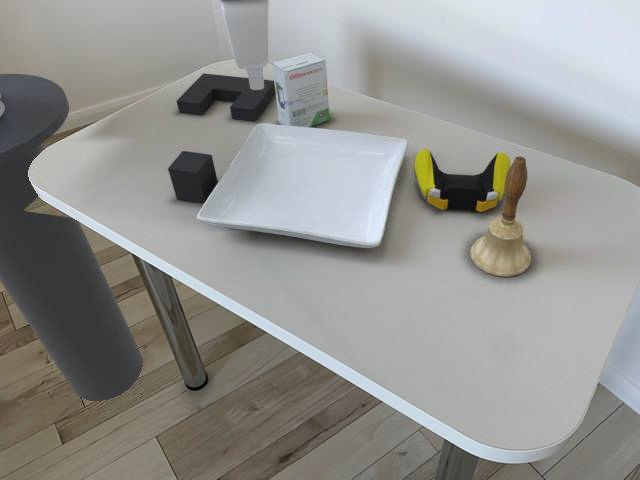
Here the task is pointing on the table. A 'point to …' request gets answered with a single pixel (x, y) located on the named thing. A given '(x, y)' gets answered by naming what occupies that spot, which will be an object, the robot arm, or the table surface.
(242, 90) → the base pad
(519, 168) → the hand bell
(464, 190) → the gaming controller
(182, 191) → the black block
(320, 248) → the table surface
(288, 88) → the ink box
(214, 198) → the square plate
